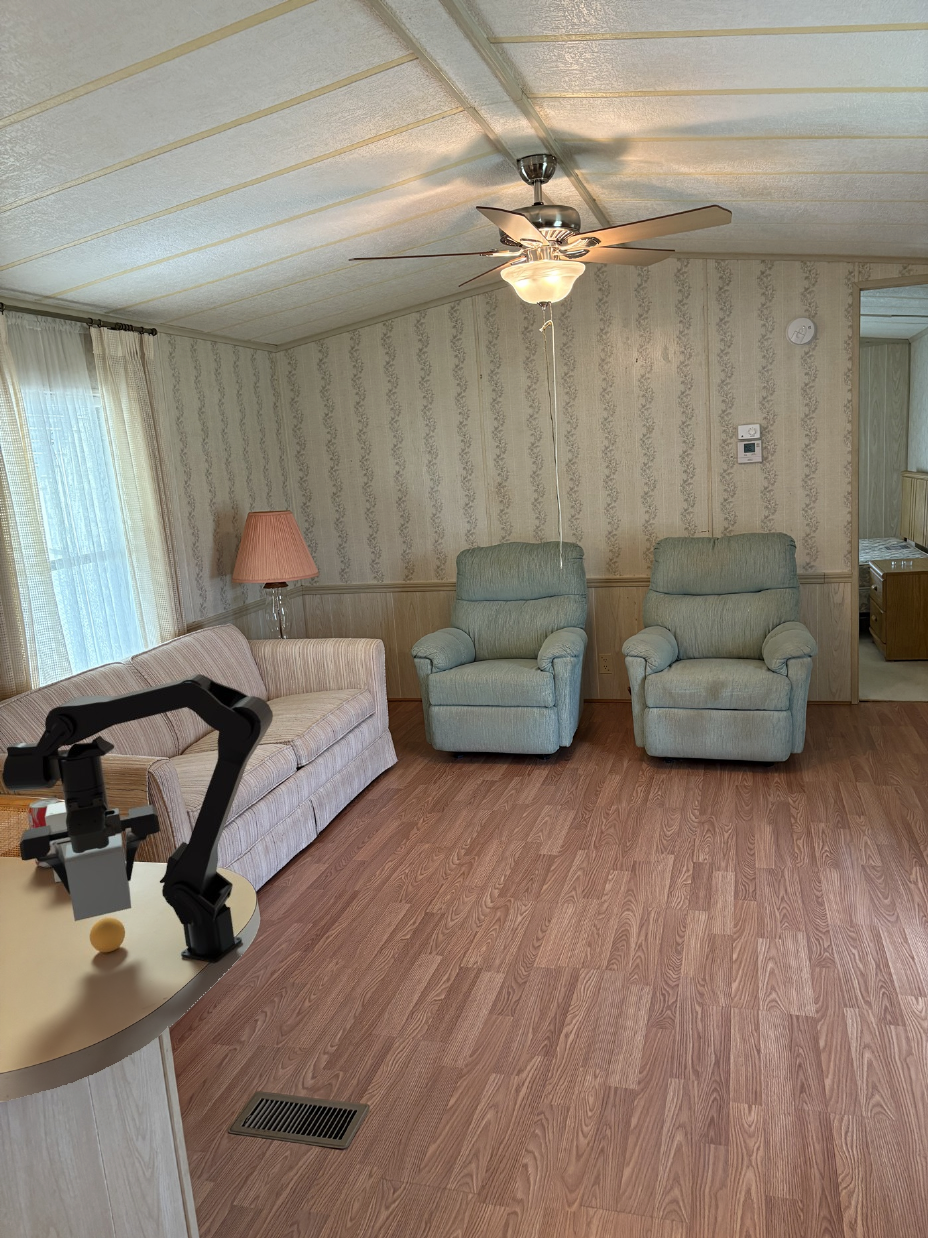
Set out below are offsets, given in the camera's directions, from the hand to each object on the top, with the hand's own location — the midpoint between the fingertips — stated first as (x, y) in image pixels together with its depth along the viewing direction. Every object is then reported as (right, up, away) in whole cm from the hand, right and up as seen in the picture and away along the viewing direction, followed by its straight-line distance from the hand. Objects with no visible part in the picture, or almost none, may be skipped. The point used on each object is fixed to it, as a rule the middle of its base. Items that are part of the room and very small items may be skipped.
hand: (100, 886), depth 140 cm
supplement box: (-18, -7, +35) cm, 40 cm away
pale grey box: (0, -3, +1) cm, 3 cm away
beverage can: (-24, -7, +40) cm, 47 cm away
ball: (0, -8, +3) cm, 8 cm away
